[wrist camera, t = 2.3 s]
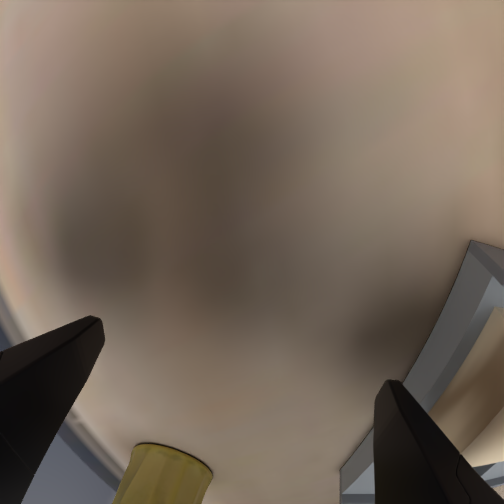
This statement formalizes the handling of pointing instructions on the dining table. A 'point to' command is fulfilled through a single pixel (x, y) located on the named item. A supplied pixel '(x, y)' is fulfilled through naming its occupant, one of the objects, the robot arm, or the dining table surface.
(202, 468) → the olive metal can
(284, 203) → the dining table surface
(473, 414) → the beech block
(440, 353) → the box
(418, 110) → the dining table surface
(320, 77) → the dining table surface
